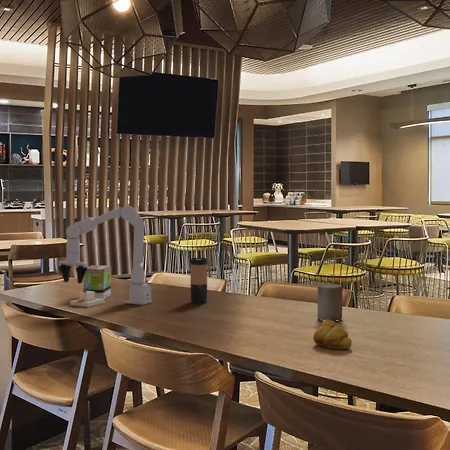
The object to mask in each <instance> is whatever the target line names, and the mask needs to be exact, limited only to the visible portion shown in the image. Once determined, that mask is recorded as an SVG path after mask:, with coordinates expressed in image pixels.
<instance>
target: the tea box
mask: <svg viewBox="0 0 450 450" xmlns="http://www.w3.org/2000/svg"><path fill="white" fill-rule="evenodd" d="M82 284H83V286H82V287H83V288H82V292H83V291H84V290H86V291H94V292H95V298H99V299H104V300H105V299H107V298H108V297H110V296H111V295H112V290H111V289H112V286H111V285H112V266H111V265H90V266H88V267H87V270H86V272H85V274H84V277H83V281H82Z"/></svg>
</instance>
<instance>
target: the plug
mask: <svg viewBox="0 0 450 450" xmlns="http://www.w3.org/2000/svg"><path fill="white" fill-rule="evenodd" d="M79 299H80V300H84V301H85V302H89V301H93V300H95V292H94V291H86V290H84V291H83V290H82V291H80V292H79Z"/></svg>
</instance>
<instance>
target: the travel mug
mask: <svg viewBox="0 0 450 450" xmlns="http://www.w3.org/2000/svg"><path fill="white" fill-rule="evenodd" d="M207 299H208V258H207V257H191V258H190V302H192V303H191V304H195V303H202V304H206V303H207Z"/></svg>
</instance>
